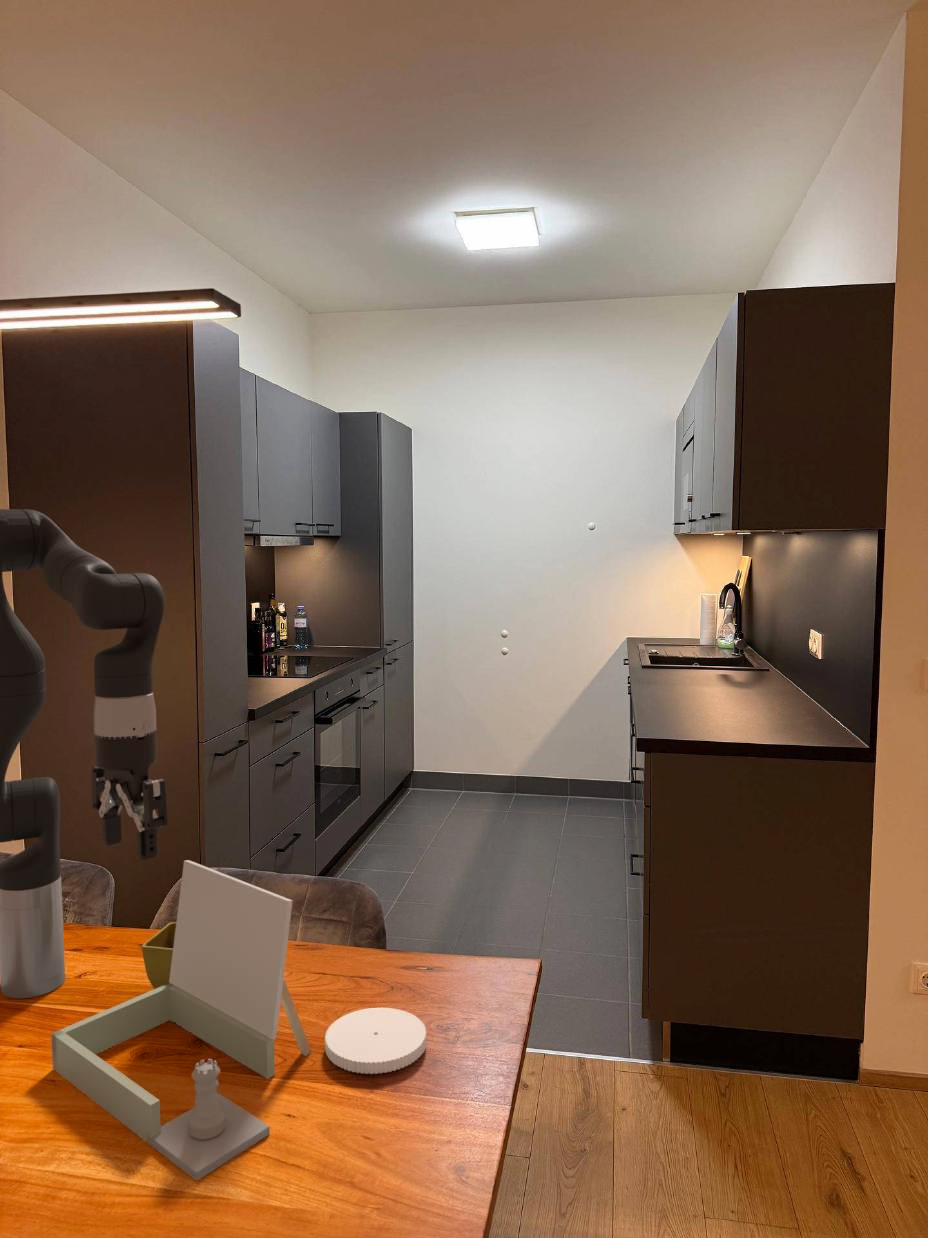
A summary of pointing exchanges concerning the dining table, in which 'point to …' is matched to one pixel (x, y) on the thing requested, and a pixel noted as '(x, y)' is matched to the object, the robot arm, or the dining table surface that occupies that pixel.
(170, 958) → the flower pot
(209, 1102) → the rook chess piece
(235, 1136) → the slate tile
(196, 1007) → the frame
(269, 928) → the lid propped
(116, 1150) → the dining table surface
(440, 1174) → the dining table surface
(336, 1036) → the plastic lid
